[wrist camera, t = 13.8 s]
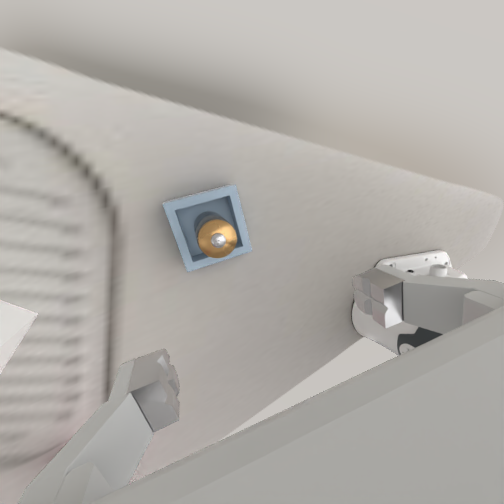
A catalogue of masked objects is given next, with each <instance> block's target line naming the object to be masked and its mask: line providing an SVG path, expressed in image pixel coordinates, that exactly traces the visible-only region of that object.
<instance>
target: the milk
mask: <svg viewBox="0 0 504 504" xmlns="http://www.w3.org/2000/svg"><path fill="white" fill-rule="evenodd" d="M37 315H38V313H35V312H33V311H30V310H27V309H24V308H22V307H19V306H16V305H13V304H11V303H8V302H5V301H2V300H0V374H1V372H2V371H3V369H4V367H5V366H6V364H7V363H8V361H9V359H10V358H11V356H12V355H13V353H14V352H15V350H16V348H17V347H18V345H19V344H20V342H21V341H22V339H23V337H24V336H25V334H26V333H27V331H28V330H29V328H30V326H31V325H32V323H33V322H34V320H35V319H36V317H37Z"/></svg>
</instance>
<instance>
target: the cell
mask: <svg viewBox="0 0 504 504" xmlns="http://www.w3.org/2000/svg"><path fill="white" fill-rule="evenodd" d="M194 230H195V235H196V239H197V244H198V246H199V248H200V249H201V251H202V252H203V253H204V254H206V255H207V256H209V257H212V258H223V257H225V256H227V255H229V254H230V253H231V252H232V251H233V250H234V248H235V246H236V243H237V235H236V232H235V229H234V227H233V226H232V225H231V224H230V223H229V222H228V221H227V220H225V219H224V218H223V217H222V216H221V215H219V214H218V213H216V212H213V211H206V212H203V213H201V214H200V215H199V216H198V217H197V218H196V220H195V223H194Z"/></svg>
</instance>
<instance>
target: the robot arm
mask: <svg viewBox="0 0 504 504" xmlns="http://www.w3.org/2000/svg"><path fill="white" fill-rule="evenodd" d="M352 285H353V286H354V287H355V288H356V290H355V292H354V294H353V295H354V301H355V302H354V305H353V310H352V321H353V325H354V327H355V329H356V331H357V332H358V333H359V334H360V335H362V336H364V337H366V338H369V339H371V340H373V341H375V342H377V343H379V344H381V345H382V346H384V347H386V348H387V349H389V350H391V351H392V352H394V353H395V354H397V355H399V356H397V357H395V358H393V359H391V360H389V361H386V362H384V363H382V364H380V365H378V366H376V367H374V368H372V369H370V370H367V371H365V372H363V373H361V374H359V375H357V376H355V377H353V378H351V379H349V380H347V381H345V382H342V383H340V384H338V385H336V386H334V387H332V388H330V389H328V390H326V391H323V392H321V393H319V394H317V395H315V396H313V397H311V398H309V399H307V400H305V401H303V402H301V403H298V404H296V405H294V406H292V407H290V408H288V409H286V410H284V411H282V412H280V413H277V414H276V415H273V416H271V417H269V418H267V419H265V420H263V421H261V422H259V423H256V424H254V425H252V426H250V427H248V428H246V429H244V430H242V431H240V432H238V433H235V434H233V435H231V436H229V437H227V438H225V439H223V440H221V441H219V442H217V443H215V444H212V445H210V446H208V447H206V448H204V449H202V450H200V451H198V452H196V453H194V454H191V455H189V456H187V457H185V458H183V459H181V460H179V461H177V462H175V463H173V464H170V465H168V466H166V467H164V468H162V469H160V470H158V471H156V472H154V473H152V474H149V475H147V476H145V477H143V478H141V479H139V480H137V481H135V482H133V483H131V484H129V485H128V483H129V481H130V479H131V478H132V476H133V474H134V472H135V470H136V468H137V466H138V464H139V462H140V460H141V458H142V456H143V454H144V452H145V450H146V448H147V446H148V444H149V442H150V441H151V439H152V437H153V435H154V433H153V432H156V431H158V430H160V429H162V428H164V427H166V426H168V425H170V424H172V423H174V422H177V421H179V401H178V399H177V395H178V394H179V380H178V375H177V372H176V370H175V367H174V366H173V365H171V364H169V362H170V356H169V354H168V352H167V350H166V349H161V350H158V351H156V352H153V353H150V354H147V355H144V356H142V357H139V358H137V359H133V360H131V361H128V362H126V363H123V364H122V365H121V366H120V368H119V371H118V374H117V377H116V380H115V382H114V385H113V388H112V391H111V394H110V397H109V400H108V402H105V403H103V404H102V405H101V406H100V407H99V409H98V410H97V411H96V412H95V413H94V414H93V415H92V416H91V417H90V418H89V420H88V421H87V422H86V423H85V424H84V425H83V426H82V427H81V428H80V429H79V431H78V432H77V433H76V434H75V435H74V436H73V437H72V438H71V439H70V440H69V441H68V443H67V444H66V445H65V446H64V447H63V448H62V449H61V450H60V451H59V452H58V454H57V455H56V456H55V457H54V458H53V459H52V460H51V461H50V462H49V463H48V465H47V466H46V467H45V468H44V469H43V470H42V471H41V472H40V473H39V474H38V475H37V477H36V478H35V479H34V480H33V481H32V482H31V483H30V484H29V485H28V486H27V488H26V489H25V491H24V493H23V495H22V497H21V499H20V501H19V503H18V504H504V283H501V282H498V281H494V280H480V279H468V277H467V276H466V275H465V274H464V273H463V272H461V271H459V270H457V269H454V268H452V267H451V262H450V258H449V256H448V254H447V253H446V252H444V251H442V250H437V251H431V252H425V253H419V254H413V255H406V256H400V257H394V258H388V259H383V260H380V261H379V262H378V264H377V265H376V267H375V268H373V269H371V270H369V271H366V272H364V273H361V274H359V275H356V276H354V277H353V279H352Z"/></svg>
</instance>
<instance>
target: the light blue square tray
mask: <svg viewBox="0 0 504 504" xmlns="http://www.w3.org/2000/svg"><path fill="white" fill-rule="evenodd" d="M163 207H164V210H165V212H166V215H167V218H168V221H169V223H170V226H171V229H172V231H173V234H174V237H175V240H176V242H177V245H178V248H179V251H180V253H181V256H182V259H183V261H184V264H185V267H186V270H187V272H190V271H193V270H196V269H199V268H202V267H205V266H208V265H211V264H214V263H217V262H220V261H224V260H227V259H230V258H233V257H236V256H239V255H242V254H245V253H248V252H251V251H252V248H251V244H250V240H249V236H248V232H247V228H246V224H245V220H244V216H243V212H242V208H241V204H240V200H239V196H238V192H237V188H236V185H235V184H229V185H225V186H221V187H217V188H214V189H210V190H206V191H202V192H199V193H195V194H191V195H187V196H184V197H180V198H176V199H172V200H169V201H165V202H164V203H163ZM206 211H213V212H216V213H218V214H219V215H221V216H222V217H223V218H224V219H225V220H227V221H228V222H229V223H230V224H231V225H232V226H233V227H234V229H235V232H236V235H237V243H236V246H235V248H234V250H233V251H232V252H231V253H230V254H229V255H227V256H225V257H223V258H212V257H209V256H207V255H206V254H204V253H203V252H202V251H201V249H200V248H199V246H198V244H197V239H196V235H195V230H194V223H195V220H196V218H197V217H198V216H199V215H200V214H201V213H203V212H206Z"/></svg>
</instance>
